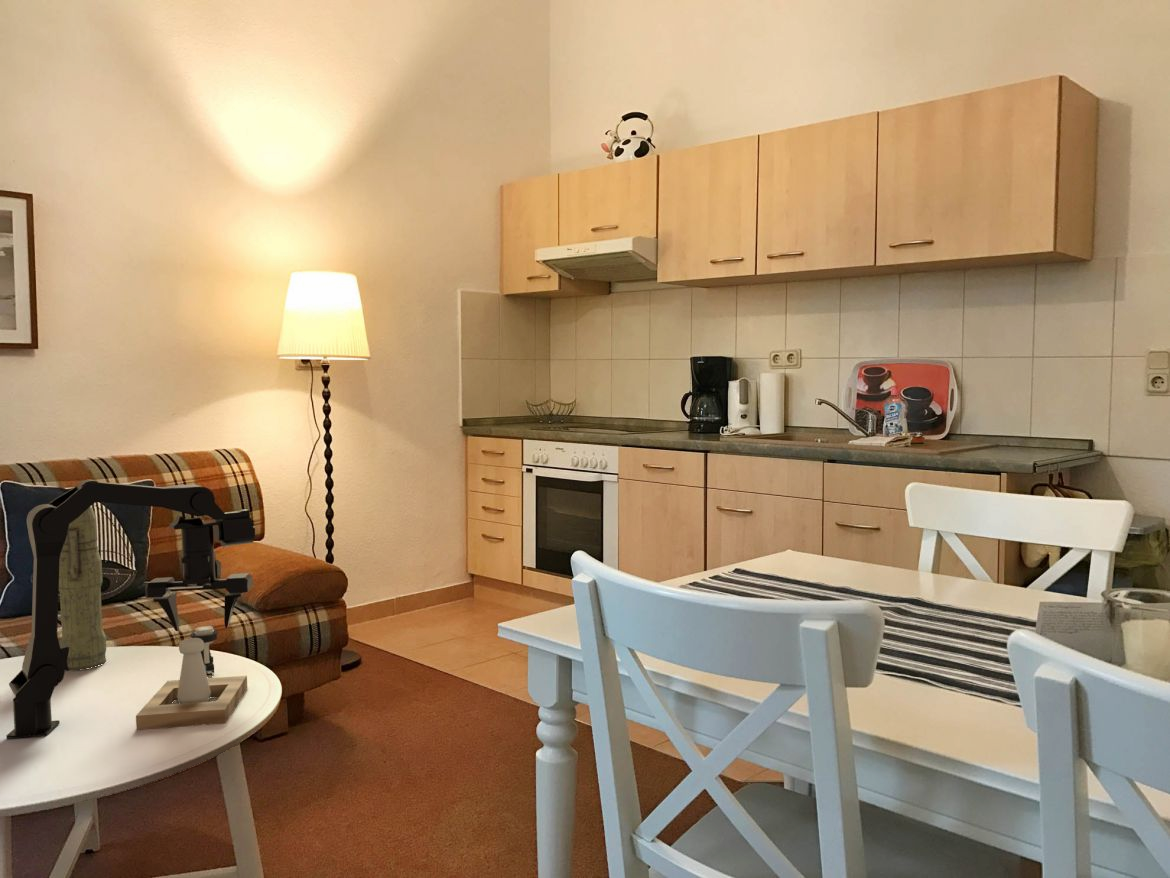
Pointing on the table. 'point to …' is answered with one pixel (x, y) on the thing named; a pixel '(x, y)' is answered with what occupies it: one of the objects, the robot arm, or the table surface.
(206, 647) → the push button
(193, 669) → the salt shaker
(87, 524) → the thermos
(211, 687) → the wooden flat frame
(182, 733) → the table surface
